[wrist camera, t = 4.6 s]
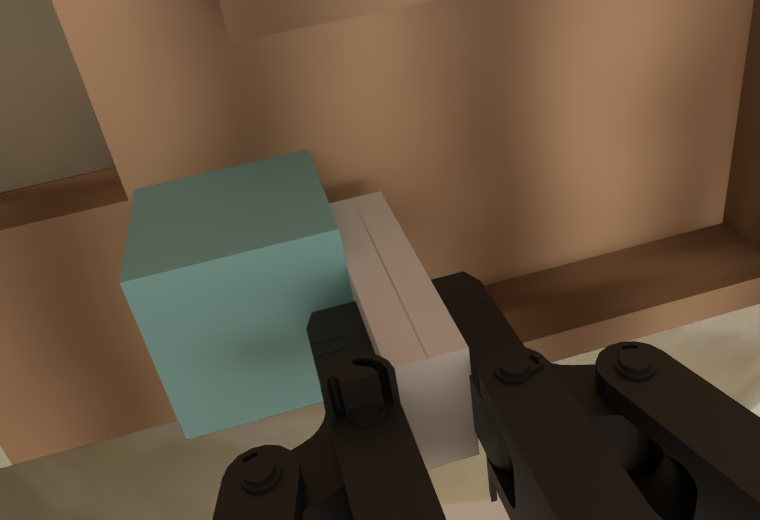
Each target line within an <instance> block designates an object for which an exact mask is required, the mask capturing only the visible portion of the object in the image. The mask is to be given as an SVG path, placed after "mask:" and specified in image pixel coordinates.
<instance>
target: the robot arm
mask: <svg viewBox="0 0 760 520" xmlns="http://www.w3.org/2000/svg"><path fill="white" fill-rule="evenodd" d="M329 205H330V207H331V210H332V212H333V215H334V217H335V220H336V222H337V225H338V227H339V231H340V236H341V240H342V245H343V250H344V255H345V260H346V266H347V271H348V276H349V281H350V285H351V290H352V295H353V300H354V302H350V303H346V304H342V305H338V306H335V307H331V308H327V309H323V310H319V311H315V312H312V314H311V316H310V319H309V322H308V325H307V328H306V330H307V334H308V338H309V342H310V346H311V350H312V354H313V358H314V362H315V366H316V370H317V374H318V378H319V382H320V386H321V393H322V397H323V401H324V404H325V411H326V413H325V417H324V421H323V423H322V425H321V426H320V428H319V430H318V431H317V432H316V433H315V434H314V435H313V436H312V437H311V438H310V439H308V440H307V441H305V442H304V443H303V444H301V445H299V446H298V447H296V448H294V449H292V450H288V449H286V448H284V447H282V446H278V445H263V446H259V447H255V448H252V449H250V450H248V451H246V452H244V453H243V454H241V455H239V456H238V457H237V458H236V459H235V460H234V461H233V462H232V463H231V464H230V465H229V466H228V467H227V469H226V472H225V474H224V476H223V478H222V481H221V486H220V490H219V494H218V498H217V503H216V507H215V511H214V515H213V520H446V518H445V515H444V513H443V510H442V507H441V505H440V502H439V500H438V497H437V495H436V492H435V489H434V487H433V484H432V482H431V479H430V477H429V474H428V471H427V470H428V469H431V468H434V467H438V466H441V465H444V464H448V463H451V462H454V461H458V460H461V459H464V458H468V457H471V456H475V455H478V454H479V446H478V438H479V440H480V442H481V444H482V446H483V448H484V450H485V452H486V458H487V469H488V480H489V491H490V496H491V501H492V502H493V501H497V493H498V495H499V497H500V499H501V501H502V503H503V505H504V507H505V509H506V512H507V514H508V516H509V518H510V520H760V417H758V416H757V415H755V414H754V413H753V412H751V411H750V410H748V409H747V408H745V407H744V406H742V405H741V404H740V403H738V402H737V401H735V400H734V399H732V398H731V397H729V396H728V395H726V394H725V393H723V392H722V391H721V390H719V389H718V388H716V387H715V386H713V385H712V384H710V383H709V382H707V381H706V380H705V379H703V378H702V377H700V376H699V375H697V374H696V373H694V372H693V371H691V370H690V369H688V368H687V367H686V366H684V365H683V364H681V363H680V362H678V361H677V360H675V359H674V358H672V357H671V356H669V355H668V354H667V353H665V352H664V351H662V350H660V349H658V348H656V347H654V346H652V345H650V344H645V343H640V342H635V341H633V342H619V343H616V344H613V345H609V346H607V347H606V348H605V349H604V350H602V351H601V352H600V353H599V355H598V357H597V360H596V364H595V365H558V364H553V363H550V362H549V361H548V360H547V359H546V358H545V357H544V356H543V355H542V354H541V353H539V352H537V351H534V350H532V349H530V348H526V347H525V346H524V345H523V343H522V342H521V340H520V339H519V337H518V336H517V334H516V333H515V331H514V330H513V328H512V327H511V325H510V324H509V322H508V321H507V319H506V318H505V316H504V315H503V313H502V312H501V311H500V309H499V308H498V307H497V305H496V303H495V302H494V300H493V299H492V297H490V294H489V293H488V291H487V290H486V288H485V287H484V285H483V284H482V282H481V281H480V280H478V279H476V278H475V277H473V276H471V275H469V274H468V273H466V272H464V271H462V272H458V273H454V274H451V275H447V276H443V277H439V278H435V279H431V280H430V278H429V276H428V275H427V273H426V271H425V269H424V267H423V266H422V264H421V262H420V260H419V259H418V257H417V255H416V253H415V251H414V250H413V248H412V246H411V244H410V243H409V241H408V239H407V237H406V235H405V234H404V232H403V230H402V228H401V227H400V225H399V223H398V221H397V220H396V218H395V216H394V214H393V212H392V211H391V209H390V207H389V205H388V204H387V202H386V200H385V198H384V196H383V195H382V193H381V191H378V192H374V193H370V194H366V195H362V196H358V197H354V198H350V199H345V200H341V201H337V202H333V203H329ZM496 491H497V492H496Z"/></svg>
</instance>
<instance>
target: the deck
mask: <svg viewBox="0 0 760 520" xmlns="http://www.w3.org/2000/svg"><path fill="white" fill-rule="evenodd" d="M52 3H53V5H54V8H55V10H56V13H57V16H58V18H59V21H60V23H61V26H62V29H63V31H64V34H65V36H66V39H67V42H68V44H69V47H70V49H71V52H72V55H73V57H74V60H75V62H76V65H77V68H78V70H79V73H80V75H81V78H82V81H83V83H84V86H85V88H86V91H87V94H88V96H89V99H90V101H91V104H92V107H93V109H94V112H95V114H96V117H97V120H98V122H99V125H100V127H101V130H102V133H103V135H104V138H105V140H106V143H107V146H108V148H109V151H110V153H111V156H112V159H113V161H114V164H115V166H116V167H115V168H110V169H106V170H102V171H97V172H93V173H88V174H84V175H79V176H75V177H71V178H66V179H62V180H57V181H53V182H49V183H44V184H40V185H35V186H31V187H26V188H22V189H18V190H13V191H9V192H4V193H0V468H4V467H7V466H11V465H15V464H18V463H22V462H25V461H29V460H33V459H36V458H40V457H44V456H47V455H51V454H55V453H58V452H62V451H66V450H69V449H73V448H77V447H80V446H84V445H88V444H91V443H95V442H99V441H102V440H106V439H110V438H113V437H117V436H121V435H124V434H128V433H132V432H135V431H139V430H143V429H146V428H150V427H154V426H157V425H161V424H165V423H168V422H172V421H176V420H178V419H177V417H176V414H175V412H174V410H173V407H172V405H171V403H170V400H169V398H168V396H167V393H166V391H165V389H164V386H163V384H162V381H161V379H160V377H159V374H158V372H157V370H156V367H155V365H154V363H153V360H152V358H151V356H150V353H149V351H148V349H147V346H146V344H145V341H144V339H143V337H142V334H141V332H140V330H139V327H138V325H137V323H136V320H135V318H134V316H133V313H132V311H131V309H130V306H129V304H128V302H127V299H126V297H125V294H124V292H123V290H122V287H121V285H120V278H121V271H122V265H123V258H124V252H125V245H126V239H127V232H128V226H129V219H130V213H131V206H132V200H133V194H134V189H138V188H143V187H147V186H151V185H155V184H160V183H164V182H168V181H173V180H177V179H181V178H186V177H190V176H194V175H198V174H203V173H207V172H211V171H216V170H220V169H224V168H229V167H233V166H237V165H242V164H246V163H250V162H254V161H259V160H263V159H267V158H272V157H276V156H280V155H285V154H289V153H293V152H298V151H302V150H306V149H308V152H309V154H310V157H311V159H312V162H313V164H314V167H315V169H316V172H317V174H318V177H319V179H320V182H321V184H322V187H323V189H324V192H325V194H326V197H327V200H328V202H329V203H333V202H337V201H341V200H345V199H350V198H354V197H358V196H362V195H366V194H370V193H374V192H378V191H381V193H382V195H383V196H384V198H385V200H386V202H387V204H388V205H389V207H390V209H391V211H392V212H393V214H394V216H395V218H396V220H397V221H398V223H399V225H400V227H401V228H402V230H403V232H404V234H405V235H406V237H407V239H408V241H409V243H410V244H411V246H412V248H413V250H414V251H415V253H416V255H417V257H418V259H419V260H420V262H421V264H422V266H423V267H424V269H425V271H426V273H427V275H428V276H429V278H430V280H431V279H435V278H439V277H443V276H447V275H451V274H454V273H458V272H462V271H464V272H466V273H468V274H469V275H471V276H473V277H475V278H476V279H478V280H480V281H481V282H482V284H483V285H484V287H485V288H486V290H487V291H488V293H489V294H490V297H492V299H493V300H494V302H495V303H496V305H497V307H498V308H499V309H500V311H501V312H502V313H503V315H504V316H505V318H506V319H507V321H508V322H509V324H510V325H511V327H512V328H513V330H514V331H515V333H516V334H517V336H518V337H519V339H520V340H521V342H522V343H523V345H524V346H525V347H526V348H530V349H532V350H534V351H537V352H539V353H541V354H542V355H543V356H544V357H545V358H546V359H547V360H548V361H549V362H550V363H551V362H554V361H558V360H561V359H565V358H568V357H572V356H576V355H579V354H583V353H586V352H590V351H593V350H597V349H600V348H604V347H607V346H609V345H613V344H616V343H619V342H625V341H629V340H632V339H636V338H640V337H643V336H647V335H650V334H654V333H657V332H661V331H664V330H668V329H671V328H675V327H679V326H682V325H686V324H689V323H693V322H696V321H700V320H703V319H707V318H711V317H714V316H718V315H721V314H725V313H728V312H732V311H735V310H739V309H742V308H746V307H750V306H753V305H757V304H760V0H52ZM323 404H324V402H323ZM324 408H325V404H324Z"/></svg>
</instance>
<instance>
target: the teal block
mask: <svg viewBox="0 0 760 520" xmlns="http://www.w3.org/2000/svg"><path fill="white" fill-rule="evenodd" d="M120 285H121V287H122V290H123V292H124V294H125V297H126V299H127V302H128V304H129V306H130V309H131V311H132V313H133V316H134V318H135V320H136V323H137V325H138V327H139V330H140V332H141V334H142V337H143V339H144V341H145V344H146V346H147V349H148V351H149V353H150V356H151V358H152V360H153V363H154V365H155V367H156V370H157V372H158V374H159V377H160V379H161V381H162V384H163V386H164V389H165V391H166V393H167V396H168V398H169V400H170V403H171V405H172V407H173V410H174V412H175V414H176V417H177V419H178V421H179V424H180V426H181V428H182V431H183V433H184V436H185V438H186V440H188V439H191V438H195V437H198V436H202V435H206V434H209V433H213V432H216V431H220V430H224V429H227V428H231V427H234V426H238V425H242V424H245V423H249V422H252V421H256V420H260V419H263V418H267V417H270V416H274V415H278V414H281V413H285V412H288V411H292V410H296V409H299V408H303V407H306V406H310V405H314V404H317V403H321V402H324V401H323V397H322V393H321V386H320V382H319V378H318V374H317V370H316V366H315V362H314V358H313V354H312V350H311V346H310V342H309V338H308V334H307V330H306V328H307V325H308V322H309V319H310V316H311V314H312V312H315V311H319V310H323V309H327V308H331V307H335V306H338V305H342V304H346V303H350V302H354V300H353V295H352V290H351V285H350V281H349V276H348V271H347V266H346V260H345V255H344V250H343V245H342V240H341V236H340V231H339V227H338V225H337V222H336V220H335V217H334V215H333V212H332V210H331V207H330V205H329V202H328V200H327V197H326V194H325V192H324V189H323V187H322V184H321V182H320V179H319V177H318V174H317V172H316V169H315V167H314V164H313V162H312V159H311V157H310V154H309V152H308V149H306V150H302V151H298V152H293V153H289V154H285V155H280V156H276V157H272V158H267V159H263V160H259V161H254V162H250V163H246V164H242V165H237V166H233V167H229V168H224V169H220V170H216V171H211V172H207V173H203V174H198V175H194V176H190V177H186V178H181V179H177V180H173V181H168V182H164V183H160V184H155V185H151V186H147V187H143V188H138V189H134V194H133V200H132V206H131V213H130V219H129V226H128V232H127V239H126V245H125V252H124V258H123V265H122V271H121V278H120Z"/></svg>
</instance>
